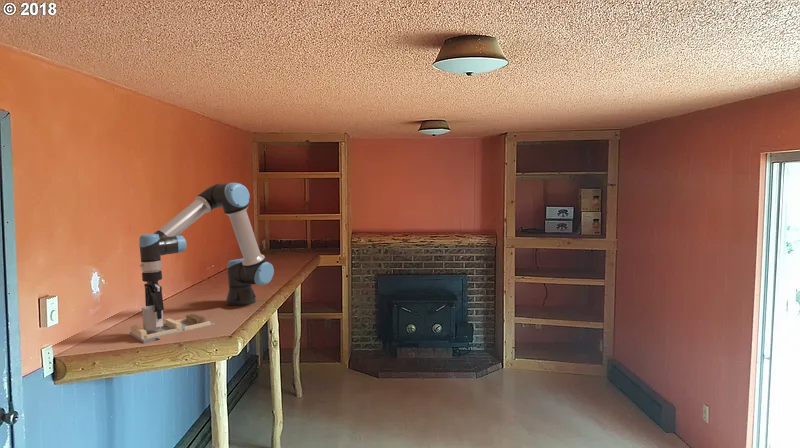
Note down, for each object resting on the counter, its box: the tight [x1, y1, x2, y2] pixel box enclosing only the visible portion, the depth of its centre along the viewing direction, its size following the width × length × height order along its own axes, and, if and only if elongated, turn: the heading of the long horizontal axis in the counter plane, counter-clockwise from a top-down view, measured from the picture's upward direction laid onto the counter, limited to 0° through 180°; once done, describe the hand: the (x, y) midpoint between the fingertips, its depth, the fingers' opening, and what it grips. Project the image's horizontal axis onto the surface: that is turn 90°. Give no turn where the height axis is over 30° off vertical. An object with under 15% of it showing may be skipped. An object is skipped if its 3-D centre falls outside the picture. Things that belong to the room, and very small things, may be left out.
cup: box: [141, 306, 164, 331], centre depth 222 cm, size 7×10×9 cm
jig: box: [129, 317, 216, 344], centre depth 226 cm, size 30×18×4 cm, turn 134°
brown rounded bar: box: [185, 313, 207, 325], centre depth 233 cm, size 4×12×3 cm, turn 44°
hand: (155, 324), depth 221 cm, fingers closed on cup, 7 cm apart
